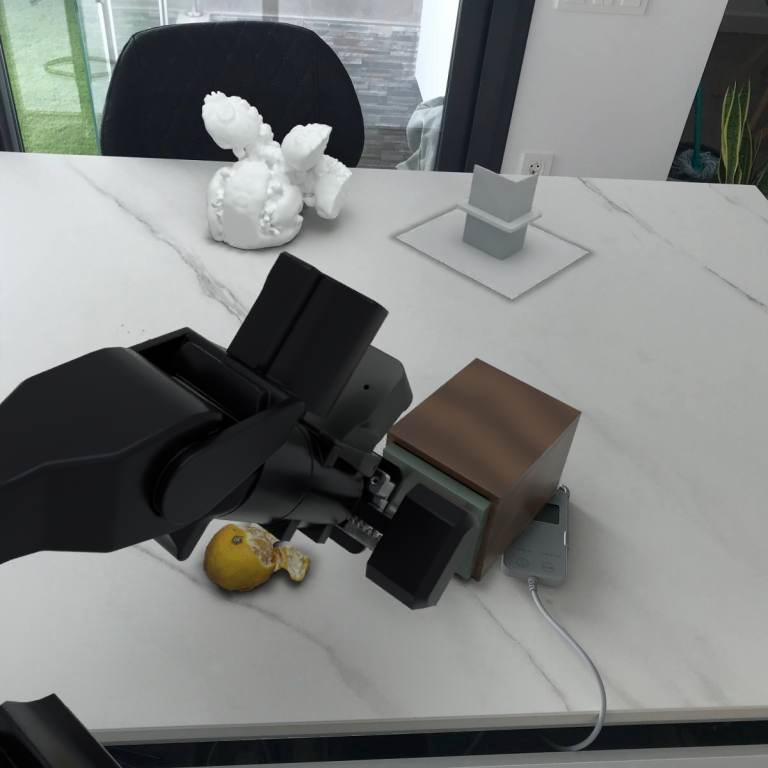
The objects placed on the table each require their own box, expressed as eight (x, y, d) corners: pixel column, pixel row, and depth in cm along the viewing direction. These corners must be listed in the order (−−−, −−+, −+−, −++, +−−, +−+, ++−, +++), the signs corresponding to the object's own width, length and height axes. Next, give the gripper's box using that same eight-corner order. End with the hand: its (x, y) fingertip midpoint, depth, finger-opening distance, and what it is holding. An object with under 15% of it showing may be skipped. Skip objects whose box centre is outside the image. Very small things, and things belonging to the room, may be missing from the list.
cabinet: (479, 582, 66) (500, 498, 59) (377, 514, 71) (387, 429, 64) (555, 493, 75) (582, 411, 68) (460, 438, 79) (476, 357, 73)
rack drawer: (439, 611, 62) (454, 541, 57) (346, 545, 67) (351, 474, 61) (540, 497, 73) (561, 429, 67) (453, 446, 77) (466, 378, 71)
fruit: (320, 574, 65) (321, 546, 63) (230, 619, 61) (227, 592, 59) (273, 509, 70) (272, 482, 68) (186, 547, 66) (183, 519, 64)
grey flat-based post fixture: (476, 199, 122) (488, 127, 114) (588, 252, 112) (610, 177, 104) (394, 237, 111) (402, 160, 103) (511, 299, 100) (529, 219, 93)
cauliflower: (156, 189, 97) (219, 65, 102) (201, 264, 115) (252, 156, 121) (295, 229, 93) (352, 99, 99) (318, 300, 112) (365, 187, 118)
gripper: (490, 417, 36) (552, 459, 50) (218, 267, 45) (336, 339, 59) (373, 623, 36) (468, 608, 50) (122, 435, 45) (264, 467, 59)
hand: (380, 494), depth 55 cm, fingers closed
